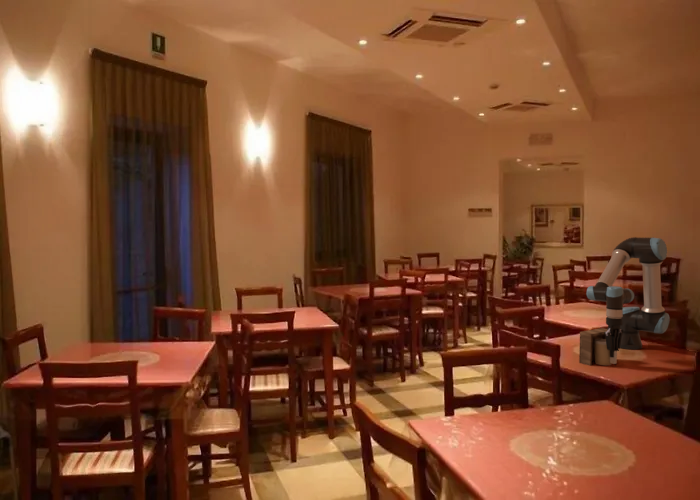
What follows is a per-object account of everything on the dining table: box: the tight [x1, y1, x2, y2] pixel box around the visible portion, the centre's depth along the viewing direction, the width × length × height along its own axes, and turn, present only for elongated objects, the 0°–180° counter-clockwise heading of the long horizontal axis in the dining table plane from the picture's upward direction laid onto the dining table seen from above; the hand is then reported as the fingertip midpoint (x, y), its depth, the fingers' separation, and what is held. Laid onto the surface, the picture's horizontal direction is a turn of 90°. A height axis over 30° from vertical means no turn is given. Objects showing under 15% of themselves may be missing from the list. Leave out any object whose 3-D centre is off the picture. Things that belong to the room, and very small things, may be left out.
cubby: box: [578, 327, 607, 366], centre depth 289 cm, size 18×6×16 cm, turn 121°
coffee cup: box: [594, 339, 612, 366], centre depth 286 cm, size 9×9×12 cm
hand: (613, 363), depth 281 cm, fingers closed
